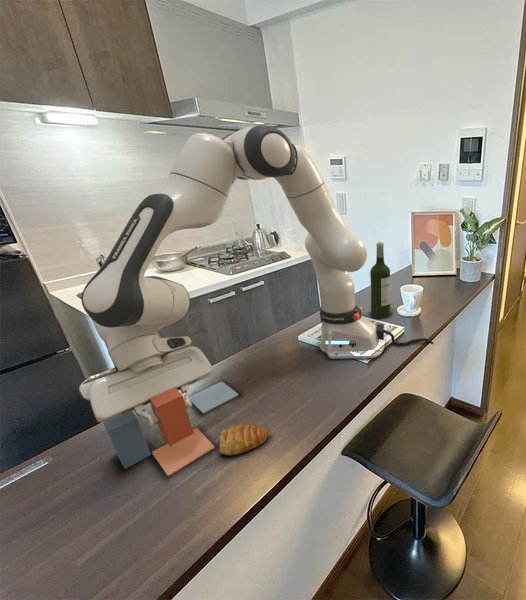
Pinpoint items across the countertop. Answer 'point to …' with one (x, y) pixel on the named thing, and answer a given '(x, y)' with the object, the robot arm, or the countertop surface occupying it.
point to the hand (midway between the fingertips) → (172, 415)
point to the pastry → (241, 439)
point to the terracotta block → (172, 416)
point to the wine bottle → (380, 285)
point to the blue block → (127, 439)
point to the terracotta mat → (182, 452)
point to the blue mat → (212, 397)
